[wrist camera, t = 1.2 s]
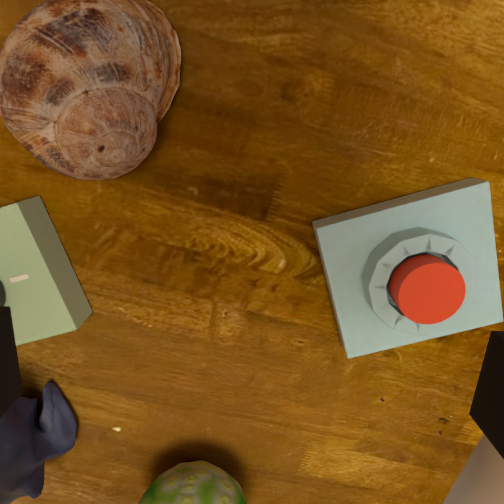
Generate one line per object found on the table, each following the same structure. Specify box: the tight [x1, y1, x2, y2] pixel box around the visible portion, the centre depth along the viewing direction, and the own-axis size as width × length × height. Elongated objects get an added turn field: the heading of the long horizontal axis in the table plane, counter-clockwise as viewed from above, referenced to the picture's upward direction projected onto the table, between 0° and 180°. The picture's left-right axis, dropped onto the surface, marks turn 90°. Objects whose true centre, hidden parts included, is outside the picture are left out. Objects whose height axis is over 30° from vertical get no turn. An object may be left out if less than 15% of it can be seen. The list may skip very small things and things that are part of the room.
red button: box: [390, 255, 466, 324], centre depth 26 cm, size 4×4×2 cm
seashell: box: [0, 0, 181, 180], centre depth 24 cm, size 10×9×10 cm
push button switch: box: [312, 178, 503, 359], centre depth 29 cm, size 12×11×4 cm
